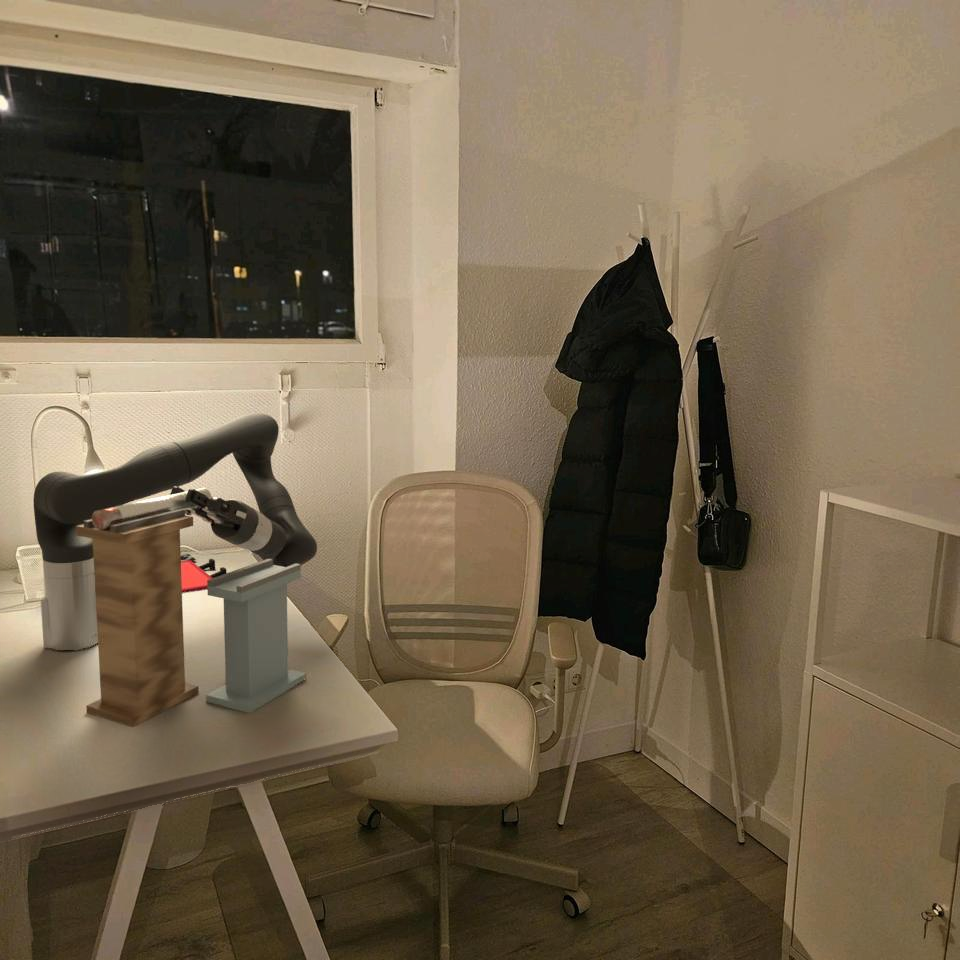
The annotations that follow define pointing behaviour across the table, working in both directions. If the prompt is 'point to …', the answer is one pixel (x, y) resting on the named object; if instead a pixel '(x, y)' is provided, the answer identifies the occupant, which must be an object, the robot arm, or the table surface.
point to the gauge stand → (139, 616)
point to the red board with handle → (196, 573)
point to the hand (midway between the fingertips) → (181, 493)
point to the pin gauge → (142, 509)
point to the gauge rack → (255, 635)
